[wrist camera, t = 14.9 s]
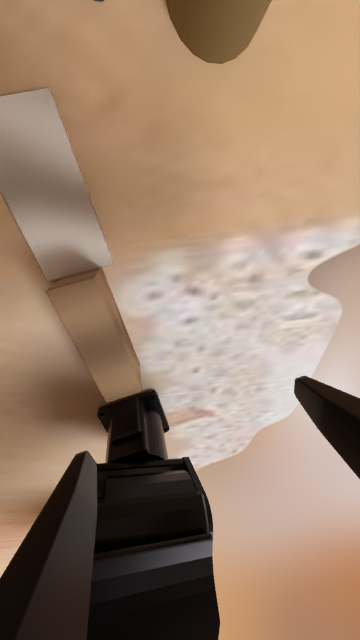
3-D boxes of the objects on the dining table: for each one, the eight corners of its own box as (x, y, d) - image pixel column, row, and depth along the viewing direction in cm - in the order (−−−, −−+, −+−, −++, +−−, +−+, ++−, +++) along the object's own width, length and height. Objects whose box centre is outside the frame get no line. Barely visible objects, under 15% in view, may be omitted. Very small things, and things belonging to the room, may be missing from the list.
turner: (149, 359, 22) (153, 387, 18) (100, 375, 21) (94, 407, 18) (51, 92, 12) (21, 41, 9) (-40, 108, 12) (-111, 62, 8)
